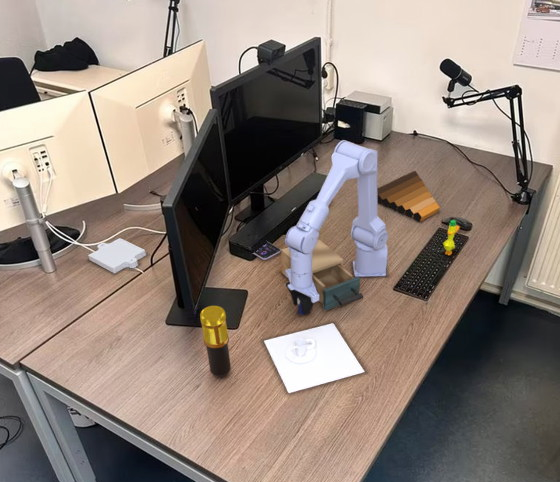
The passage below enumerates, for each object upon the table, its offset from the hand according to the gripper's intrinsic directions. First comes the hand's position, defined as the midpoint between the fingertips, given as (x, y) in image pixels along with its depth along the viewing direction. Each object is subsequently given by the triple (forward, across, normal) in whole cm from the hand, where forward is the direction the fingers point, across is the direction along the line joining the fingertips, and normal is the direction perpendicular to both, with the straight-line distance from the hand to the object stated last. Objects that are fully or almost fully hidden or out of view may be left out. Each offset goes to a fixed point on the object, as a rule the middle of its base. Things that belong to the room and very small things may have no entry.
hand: (302, 308), depth 156 cm
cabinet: (+1, -12, +11) cm, 17 cm away
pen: (+1, 0, 0) cm, 1 cm away
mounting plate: (+2, -56, -37) cm, 67 cm away
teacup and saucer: (+2, +16, -7) cm, 18 cm away
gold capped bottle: (+2, +12, -33) cm, 35 cm away
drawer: (0, -1, +11) cm, 11 cm away
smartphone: (+2, -37, +5) cm, 37 cm away
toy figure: (+2, -1, +55) cm, 55 cm away
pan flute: (+2, -35, +70) cm, 78 cm away
